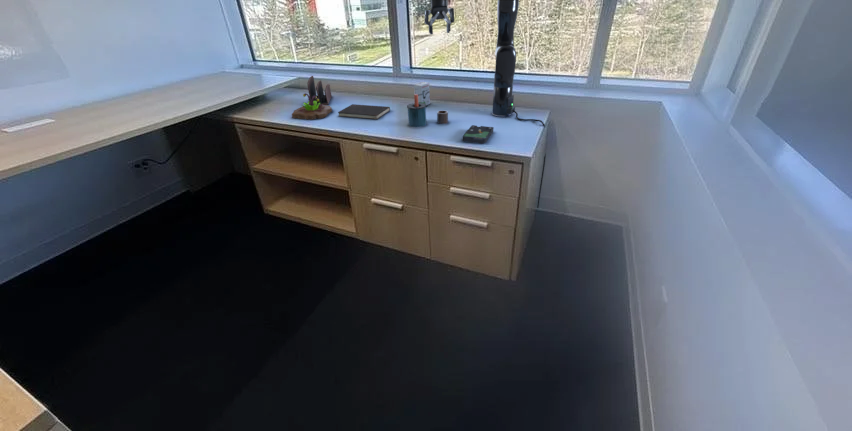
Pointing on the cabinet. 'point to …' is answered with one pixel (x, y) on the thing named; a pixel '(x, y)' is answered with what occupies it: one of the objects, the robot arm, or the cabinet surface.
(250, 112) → the cabinet surface
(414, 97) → the straw
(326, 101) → the letter holder
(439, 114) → the straw holder
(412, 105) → the tumbler lid
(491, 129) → the disk drive
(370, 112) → the hardcover book
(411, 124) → the tumbler
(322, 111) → the plant
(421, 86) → the ink box
